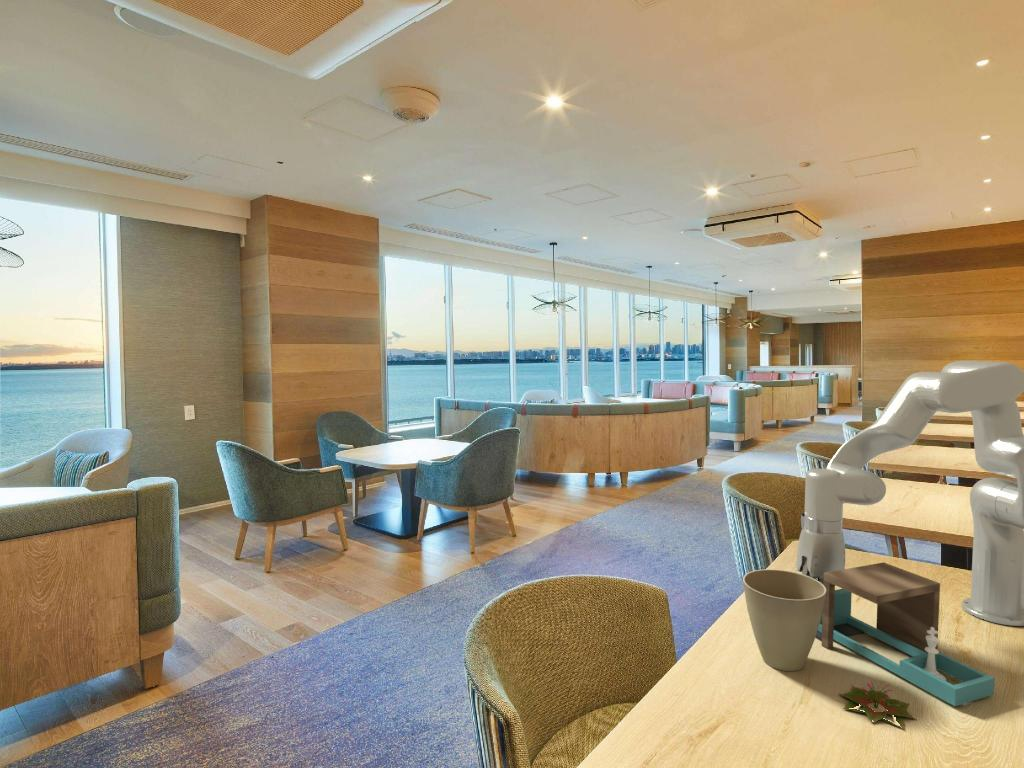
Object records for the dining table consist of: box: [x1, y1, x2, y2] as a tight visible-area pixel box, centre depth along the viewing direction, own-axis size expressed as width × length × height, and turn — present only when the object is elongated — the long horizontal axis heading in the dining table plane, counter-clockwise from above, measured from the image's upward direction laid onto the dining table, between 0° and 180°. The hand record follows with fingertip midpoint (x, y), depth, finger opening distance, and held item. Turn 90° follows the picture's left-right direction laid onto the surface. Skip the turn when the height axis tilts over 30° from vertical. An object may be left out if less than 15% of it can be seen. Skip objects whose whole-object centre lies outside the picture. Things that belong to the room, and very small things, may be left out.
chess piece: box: [923, 627, 947, 682], centre depth 110 cm, size 5×5×10 cm
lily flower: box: [838, 680, 916, 731], centre depth 102 cm, size 12×12×5 cm
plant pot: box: [742, 568, 826, 672], centre depth 116 cm, size 15×15×16 cm
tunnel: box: [815, 562, 941, 653], centre depth 125 cm, size 17×23×16 cm
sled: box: [818, 588, 995, 707], centre depth 117 cm, size 10×31×7 cm, turn 19°
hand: (820, 604), depth 133 cm, fingers closed
